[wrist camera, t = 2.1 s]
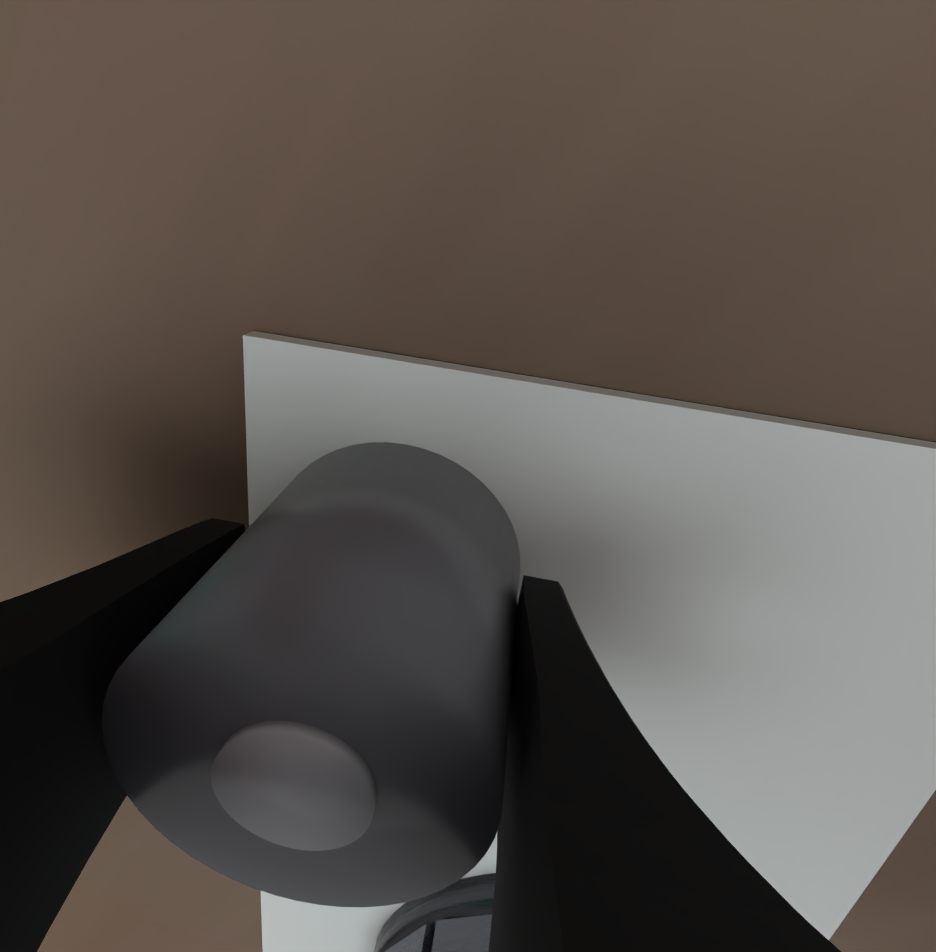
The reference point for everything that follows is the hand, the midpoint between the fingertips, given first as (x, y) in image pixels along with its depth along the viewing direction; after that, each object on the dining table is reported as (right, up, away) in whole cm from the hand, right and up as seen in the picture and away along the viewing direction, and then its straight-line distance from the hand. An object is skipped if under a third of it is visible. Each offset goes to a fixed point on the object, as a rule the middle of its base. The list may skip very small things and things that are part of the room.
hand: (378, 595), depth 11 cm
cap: (0, +1, +1) cm, 1 cm away
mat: (+4, -7, +5) cm, 9 cm away
